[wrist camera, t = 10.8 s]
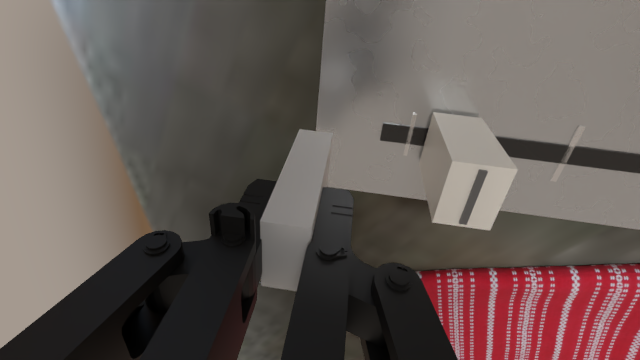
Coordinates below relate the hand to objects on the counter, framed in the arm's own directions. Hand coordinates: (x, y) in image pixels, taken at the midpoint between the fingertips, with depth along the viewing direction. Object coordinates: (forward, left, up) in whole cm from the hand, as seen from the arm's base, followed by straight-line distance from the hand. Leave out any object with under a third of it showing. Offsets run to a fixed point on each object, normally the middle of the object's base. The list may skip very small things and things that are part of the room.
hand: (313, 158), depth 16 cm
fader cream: (0, +7, -3) cm, 7 cm away
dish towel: (+18, +17, -6) cm, 25 cm away
